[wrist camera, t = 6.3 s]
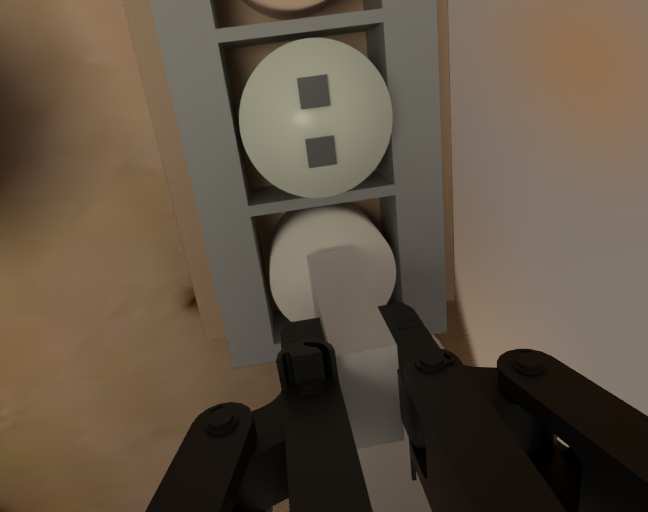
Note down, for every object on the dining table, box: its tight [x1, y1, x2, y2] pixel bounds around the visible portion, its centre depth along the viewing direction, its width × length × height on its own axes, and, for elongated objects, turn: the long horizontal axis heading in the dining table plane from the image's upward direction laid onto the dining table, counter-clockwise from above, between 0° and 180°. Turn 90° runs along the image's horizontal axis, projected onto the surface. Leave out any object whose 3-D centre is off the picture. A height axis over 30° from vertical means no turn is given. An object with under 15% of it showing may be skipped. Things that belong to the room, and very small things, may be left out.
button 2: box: [239, 38, 393, 198], centre depth 16 cm, size 5×5×3 cm
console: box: [123, 0, 455, 369], centre depth 18 cm, size 12×19×4 cm, turn 7°
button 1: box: [269, 202, 396, 322], centre depth 19 cm, size 5×5×3 cm
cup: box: [357, 335, 444, 512], centre depth 18 cm, size 8×8×16 cm
